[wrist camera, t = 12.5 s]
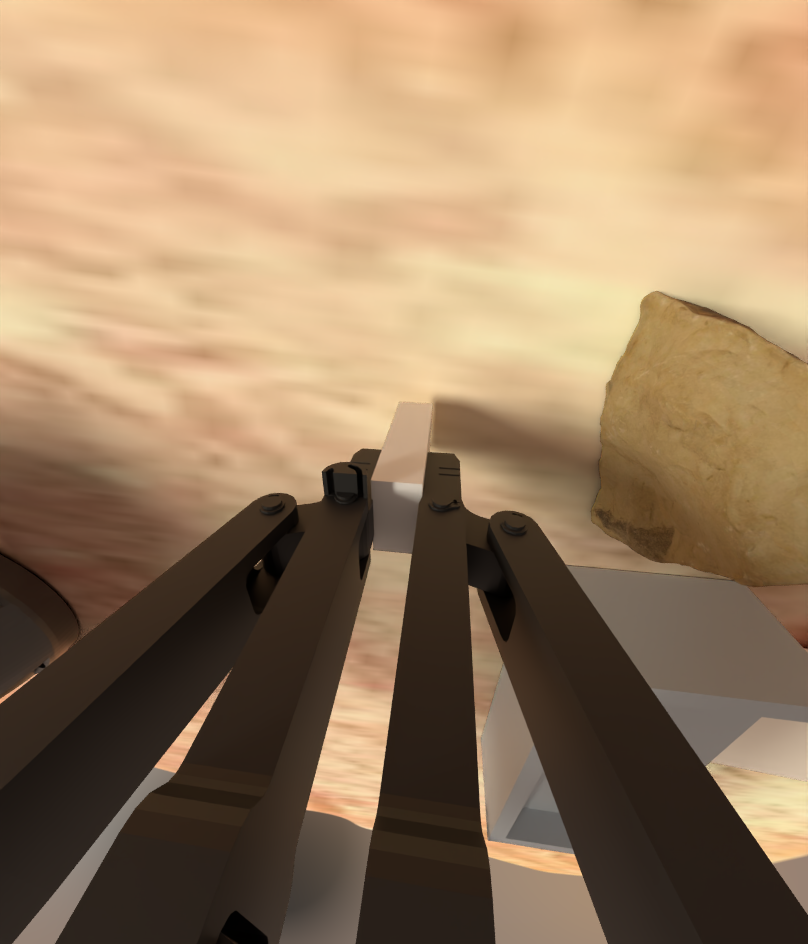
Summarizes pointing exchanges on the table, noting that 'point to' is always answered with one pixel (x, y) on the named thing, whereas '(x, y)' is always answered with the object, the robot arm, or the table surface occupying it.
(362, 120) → the table surface
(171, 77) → the table surface
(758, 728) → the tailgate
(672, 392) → the rock
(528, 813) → the bed
